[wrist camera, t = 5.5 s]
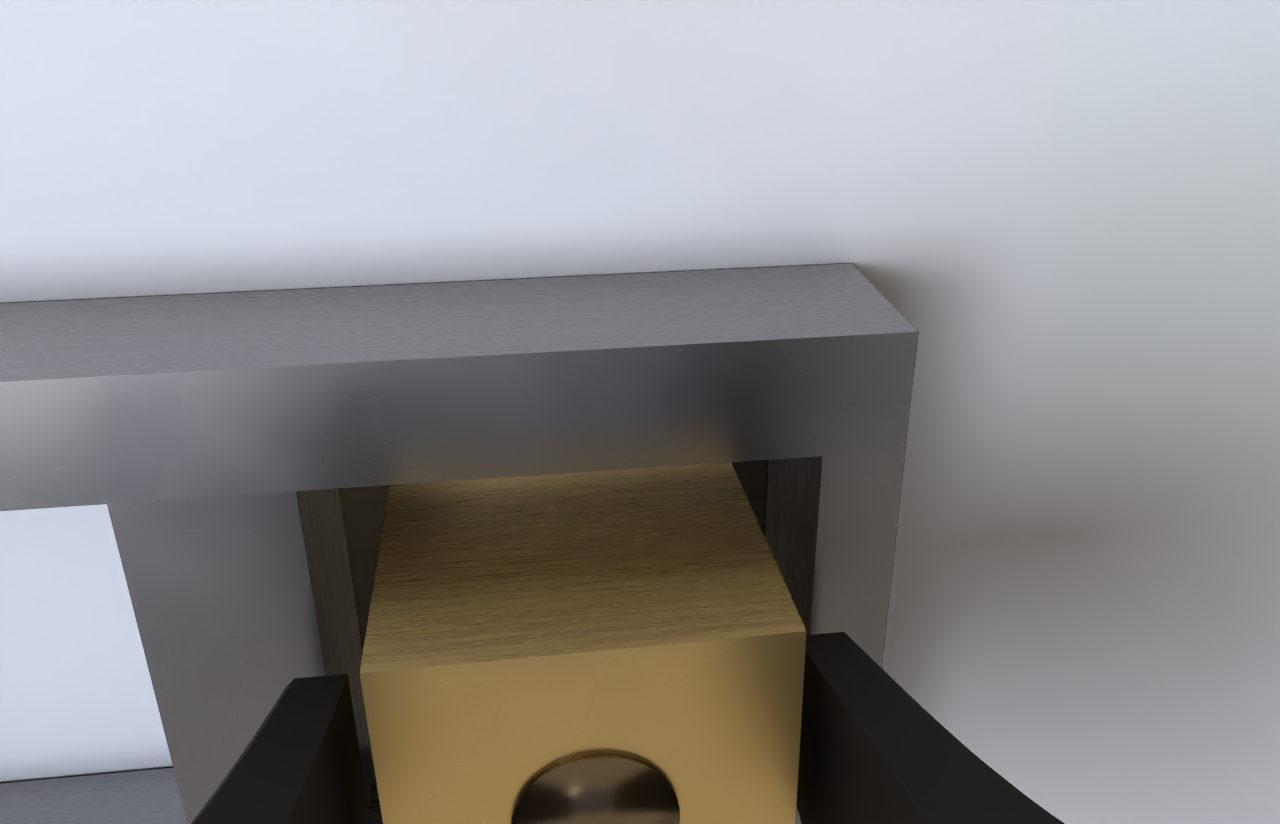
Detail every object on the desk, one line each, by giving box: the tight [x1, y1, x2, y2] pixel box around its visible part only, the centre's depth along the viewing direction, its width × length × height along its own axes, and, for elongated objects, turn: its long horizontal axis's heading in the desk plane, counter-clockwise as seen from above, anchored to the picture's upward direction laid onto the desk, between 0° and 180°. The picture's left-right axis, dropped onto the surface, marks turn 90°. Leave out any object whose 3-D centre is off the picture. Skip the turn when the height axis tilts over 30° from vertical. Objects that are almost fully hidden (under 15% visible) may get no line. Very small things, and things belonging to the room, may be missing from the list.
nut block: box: [360, 462, 806, 824], centre depth 14 cm, size 4×4×5 cm
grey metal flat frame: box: [0, 263, 918, 824], centre depth 14 cm, size 9×16×2 cm, turn 90°
